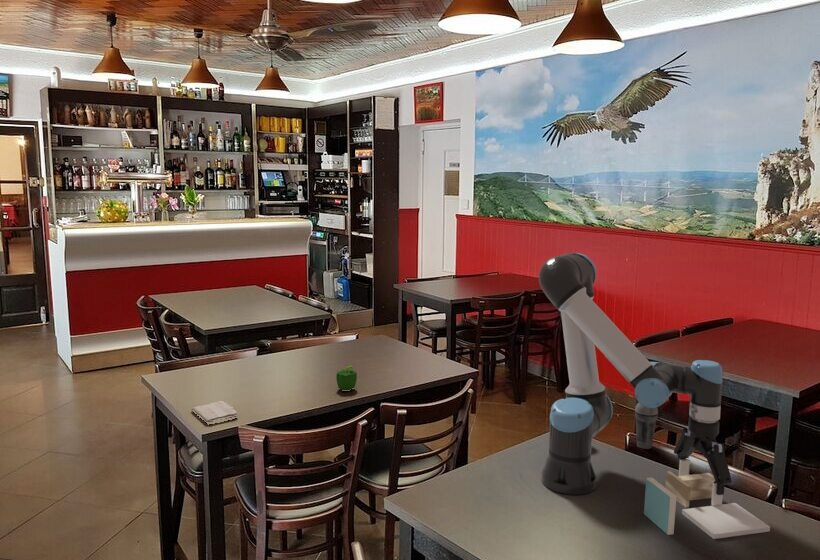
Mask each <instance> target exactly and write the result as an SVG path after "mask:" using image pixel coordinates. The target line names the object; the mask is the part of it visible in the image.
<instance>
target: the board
mask: <svg viewBox="0 0 820 560" xmlns="http://www.w3.org/2000/svg"><path fill="white" fill-rule="evenodd" d="M681 515H683V517H685V518H687V519H688V520H689V521H690V522H692V523H693V524H694V525H695V526H697V527H698V528H699V529H700V530H702V531H703V532H704V533H706V534H707V535H708V536H709V537H710V538H712V539H713V540H716V539H724V538H731V537H739V536H747V535H752V534H760V533H761V534H762V533H766V532H767V533H768V532H771V526H770V525H768V524H767V523H766V522H764V521H762V520H761V519H759V518H758V517H757V516H755V515H754V514H752V513H751V512H749V511H748V510H746V509H745V508H743V507H742V506H741V505H739V504H738V503H736V502H731V503H724V504H723V503H722V505H716V506H713V505H706V506H698V507H691V508H690V507H688V508H683V509H681Z"/></svg>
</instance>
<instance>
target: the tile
mask: <svg viewBox="0 0 820 560" xmlns="http://www.w3.org/2000/svg"><path fill="white" fill-rule="evenodd" d="M644 491H645V493H644V506H643V507H644V508H643V514H644V515H645V517H646V518H648V519H649V520H650V521H651V522H653V524H654V525H656V527H658V528H659V529H660V530H662V532H664V533H665V534H666V535H667V536H669V535H674V532H675V520H676V507H677V501H676V495H674V494H673V493H672V492H670V491H669V490H668V489H667V488H665V485H663V484H661V483H660V482H659V481H657V480H656V479H655V478H653V477H646V480H645V490H644Z"/></svg>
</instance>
